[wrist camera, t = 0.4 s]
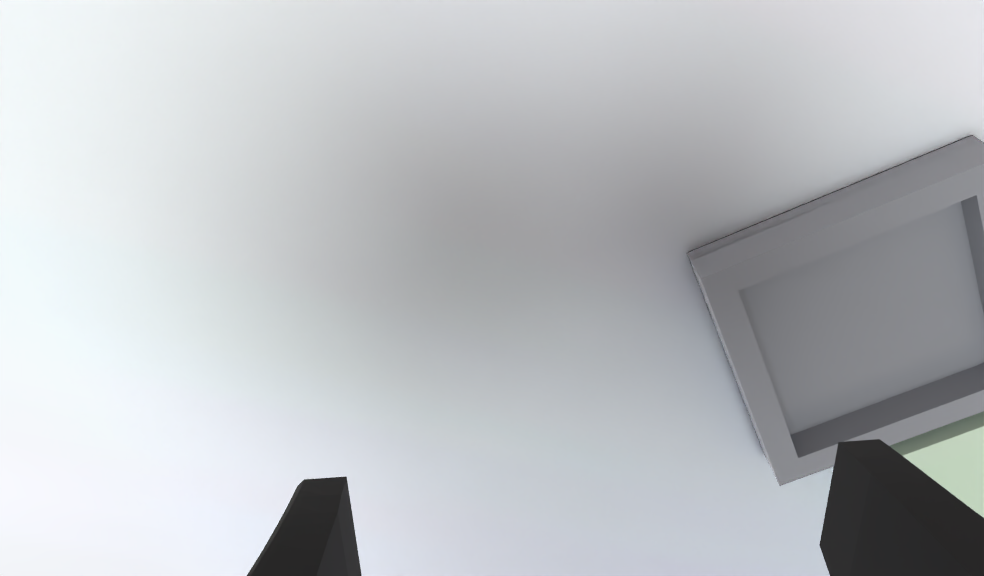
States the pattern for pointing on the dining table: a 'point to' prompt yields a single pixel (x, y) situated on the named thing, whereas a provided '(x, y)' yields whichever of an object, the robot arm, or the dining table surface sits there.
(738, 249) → the grey dish
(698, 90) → the dining table surface
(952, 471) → the green dish
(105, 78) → the dining table surface
